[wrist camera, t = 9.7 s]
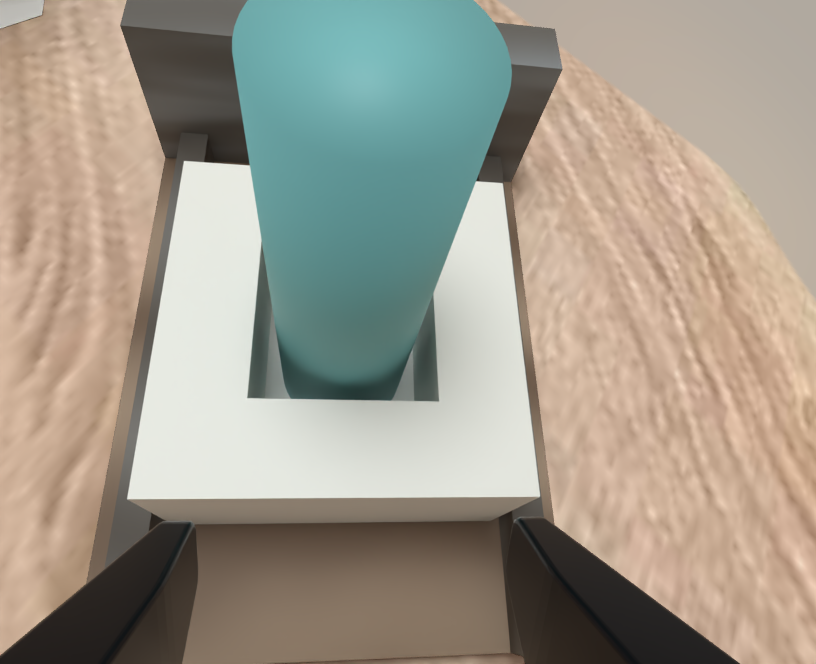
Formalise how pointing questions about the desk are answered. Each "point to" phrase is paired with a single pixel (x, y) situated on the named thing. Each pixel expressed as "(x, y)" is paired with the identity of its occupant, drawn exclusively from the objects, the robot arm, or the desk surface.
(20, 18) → the heart sculpture
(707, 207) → the desk surface
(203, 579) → the rail board
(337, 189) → the dowel
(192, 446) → the socket block
